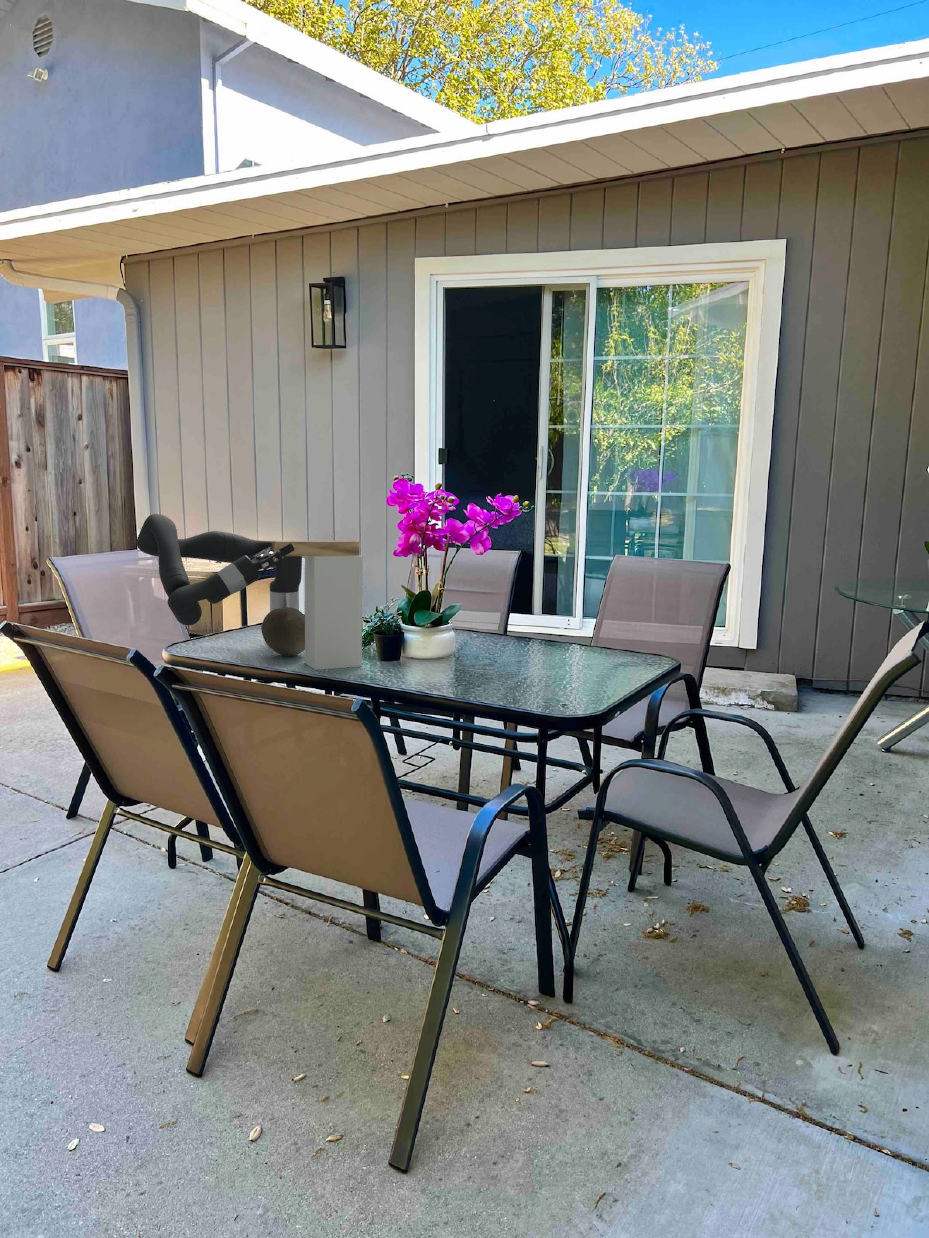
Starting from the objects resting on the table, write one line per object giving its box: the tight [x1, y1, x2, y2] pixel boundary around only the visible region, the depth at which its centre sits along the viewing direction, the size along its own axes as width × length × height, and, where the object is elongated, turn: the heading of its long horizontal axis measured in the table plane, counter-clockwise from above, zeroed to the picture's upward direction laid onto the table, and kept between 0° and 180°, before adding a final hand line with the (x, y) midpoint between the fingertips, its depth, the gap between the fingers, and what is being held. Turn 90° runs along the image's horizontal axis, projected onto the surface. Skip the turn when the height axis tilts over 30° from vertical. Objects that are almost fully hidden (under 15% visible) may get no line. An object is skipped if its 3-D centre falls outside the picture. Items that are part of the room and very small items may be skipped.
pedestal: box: [304, 554, 364, 671], centre depth 253 cm, size 10×14×32 cm
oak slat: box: [272, 539, 360, 557], centre depth 248 cm, size 4×24×4 cm, turn 116°
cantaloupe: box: [260, 607, 305, 657], centre depth 265 cm, size 14×14×15 cm
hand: (288, 545), depth 245 cm, fingers open, 8 cm apart
